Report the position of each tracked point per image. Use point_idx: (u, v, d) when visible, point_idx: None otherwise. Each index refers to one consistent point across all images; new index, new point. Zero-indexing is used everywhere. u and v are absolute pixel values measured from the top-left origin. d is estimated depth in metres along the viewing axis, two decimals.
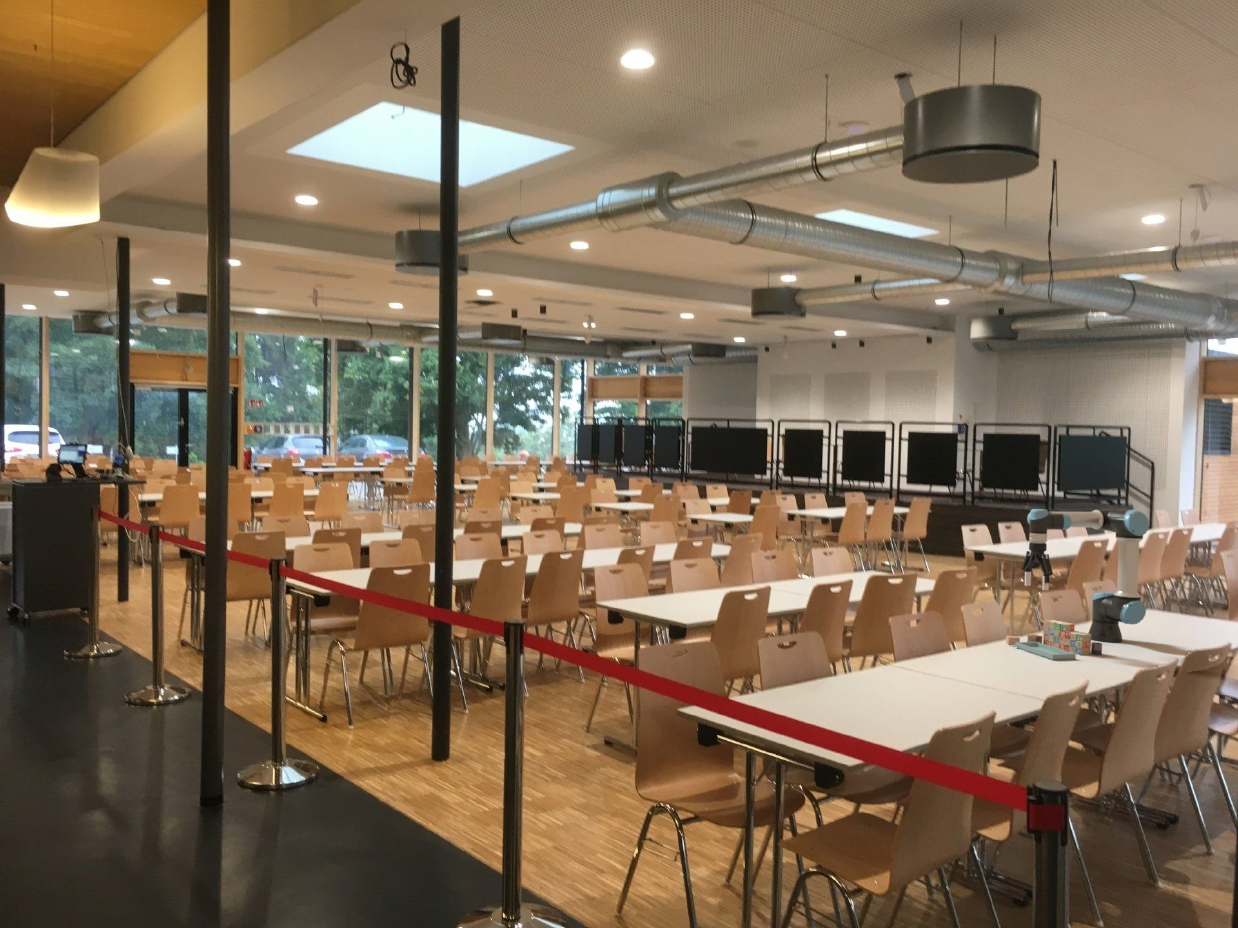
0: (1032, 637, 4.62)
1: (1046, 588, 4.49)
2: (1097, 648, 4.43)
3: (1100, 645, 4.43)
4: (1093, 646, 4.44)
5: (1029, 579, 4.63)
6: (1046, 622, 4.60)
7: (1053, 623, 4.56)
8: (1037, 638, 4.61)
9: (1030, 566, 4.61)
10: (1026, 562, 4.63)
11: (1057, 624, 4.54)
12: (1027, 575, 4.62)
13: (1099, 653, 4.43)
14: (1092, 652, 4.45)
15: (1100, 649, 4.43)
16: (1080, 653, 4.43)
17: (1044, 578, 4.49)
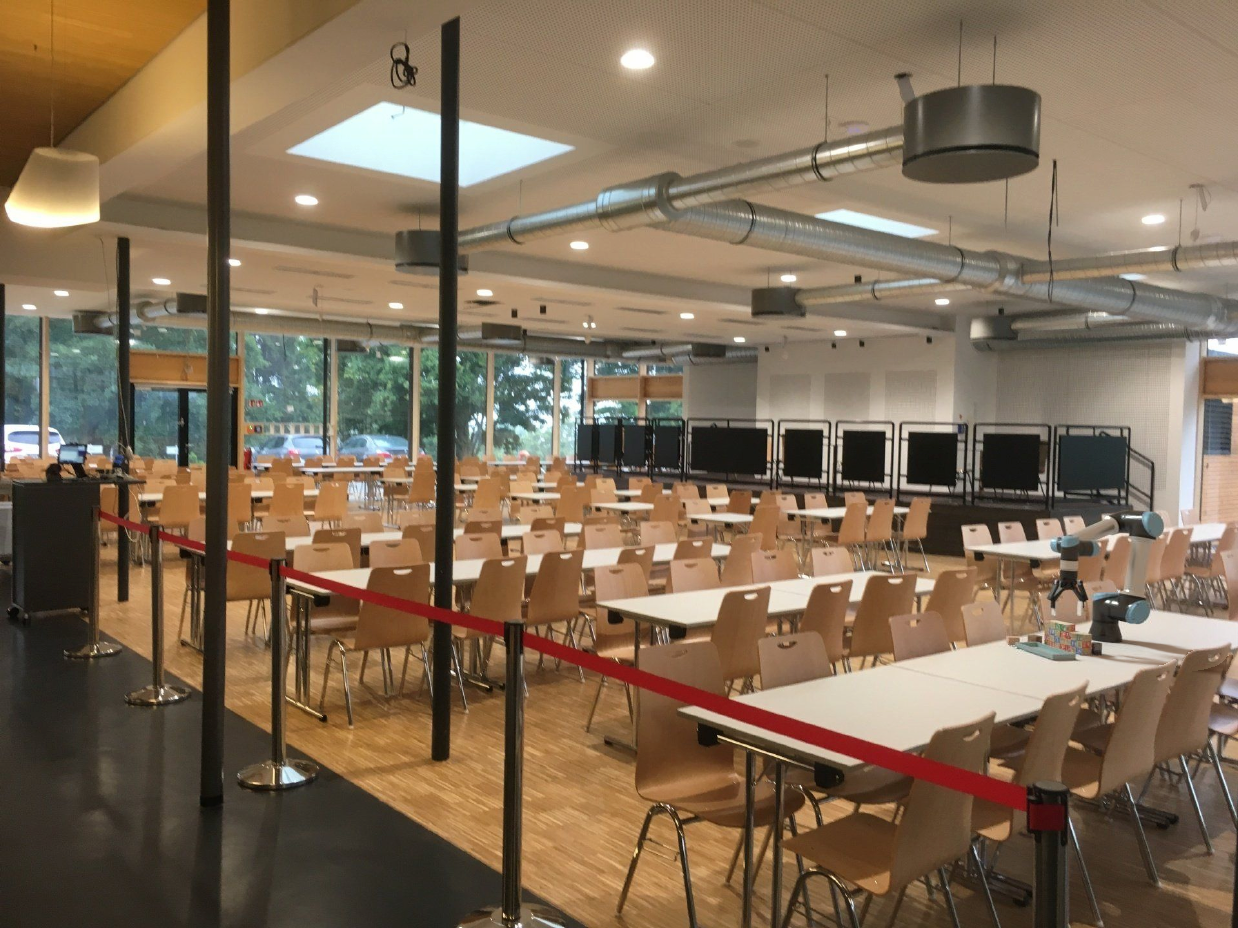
0: (1032, 637, 4.62)
1: (1053, 613, 4.51)
2: (1096, 648, 4.43)
3: (1100, 645, 4.43)
4: (1093, 646, 4.44)
5: (1080, 609, 4.54)
6: (1047, 622, 4.60)
7: (1054, 623, 4.56)
8: (1037, 638, 4.61)
9: (1077, 595, 4.54)
10: (1080, 591, 4.55)
11: (1058, 624, 4.54)
12: (1078, 604, 4.55)
13: (1099, 653, 4.43)
14: (1092, 652, 4.45)
15: (1100, 649, 4.43)
16: (1080, 653, 4.42)
17: None
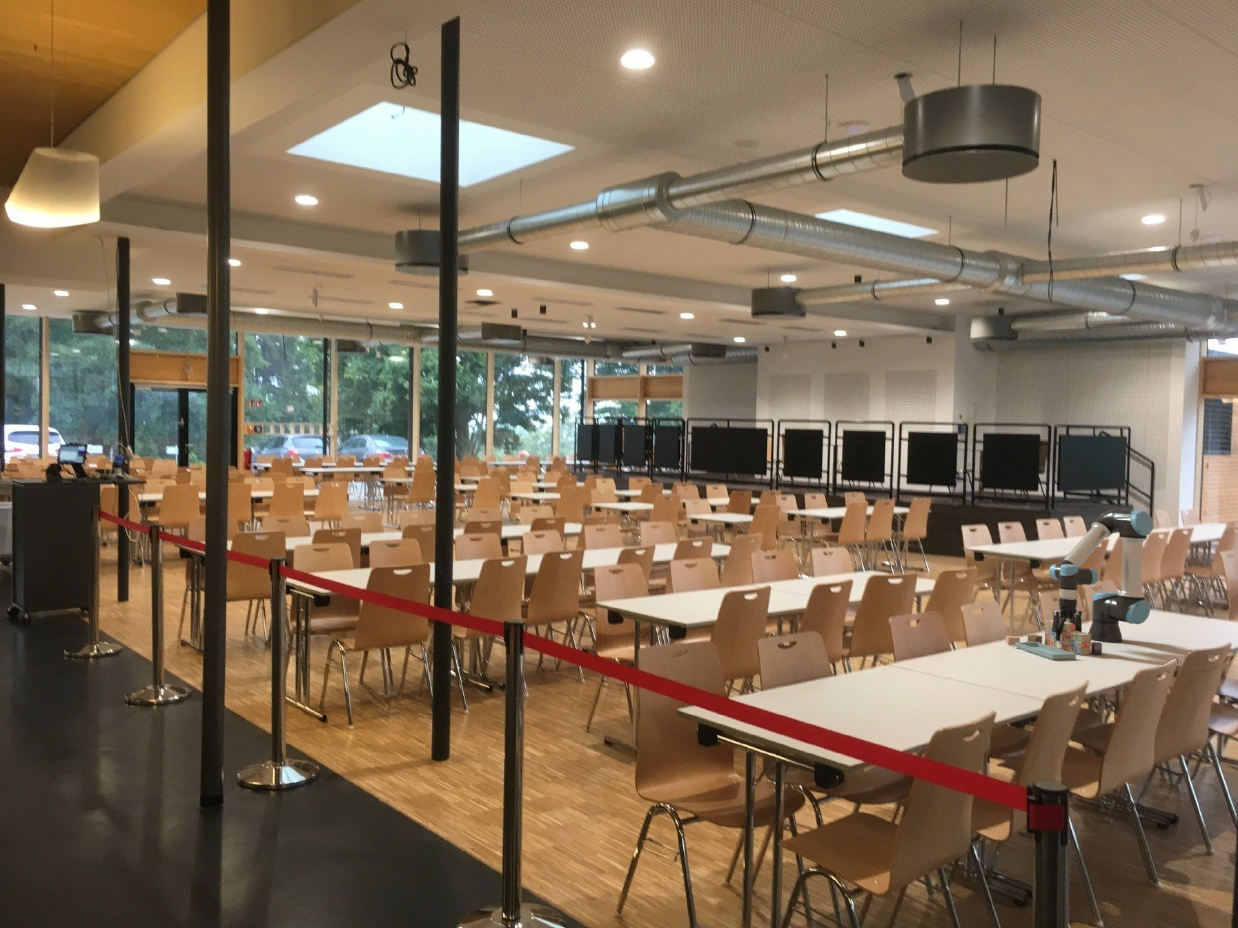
0: (1032, 637, 4.62)
1: (1058, 646, 4.52)
2: (1096, 648, 4.43)
3: (1100, 645, 4.43)
4: (1093, 646, 4.44)
5: None
6: (1047, 622, 4.60)
7: None
8: (1037, 638, 4.61)
9: None
10: (1076, 622, 4.55)
11: None
12: None
13: (1099, 653, 4.43)
14: (1092, 652, 4.45)
15: (1100, 649, 4.43)
16: (1079, 653, 4.42)
17: None
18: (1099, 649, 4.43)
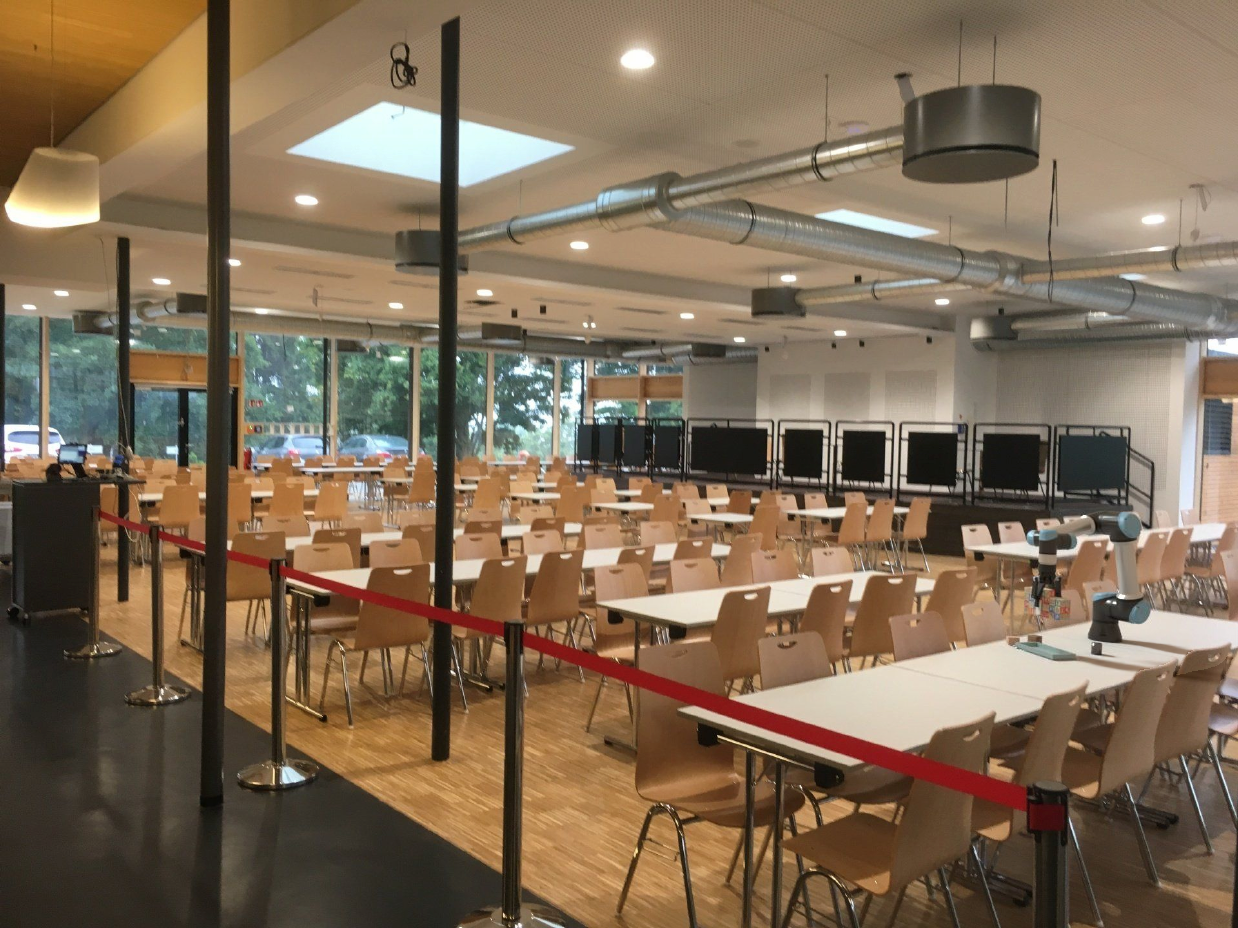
0: (1032, 637, 4.62)
1: (1038, 612, 4.42)
2: (1096, 648, 4.43)
3: (1100, 645, 4.43)
4: (1093, 646, 4.44)
5: None
6: (1027, 588, 4.50)
7: None
8: (1037, 638, 4.61)
9: None
10: (1056, 588, 4.45)
11: None
12: None
13: (1099, 653, 4.43)
14: (1092, 652, 4.45)
15: (1100, 649, 4.43)
16: (1058, 619, 4.32)
17: None
18: (1099, 649, 4.43)
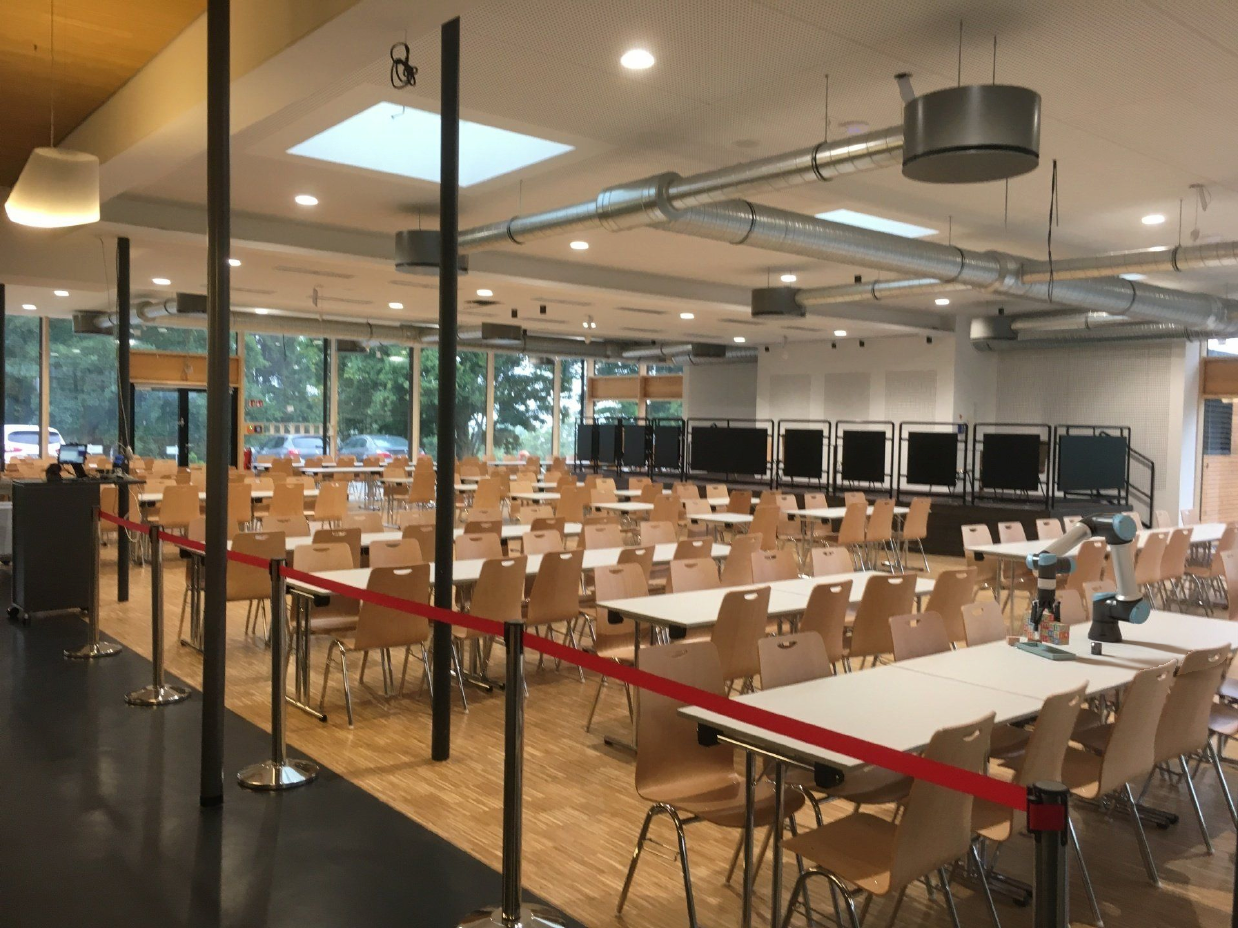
0: None
1: (1037, 637, 4.42)
2: (1096, 648, 4.43)
3: (1099, 645, 4.43)
4: (1092, 646, 4.44)
5: None
6: (1026, 612, 4.50)
7: None
8: None
9: None
10: (1055, 612, 4.45)
11: None
12: None
13: (1098, 653, 4.43)
14: (1092, 652, 4.45)
15: (1099, 649, 4.43)
16: (1057, 644, 4.33)
17: None
18: (1098, 649, 4.43)
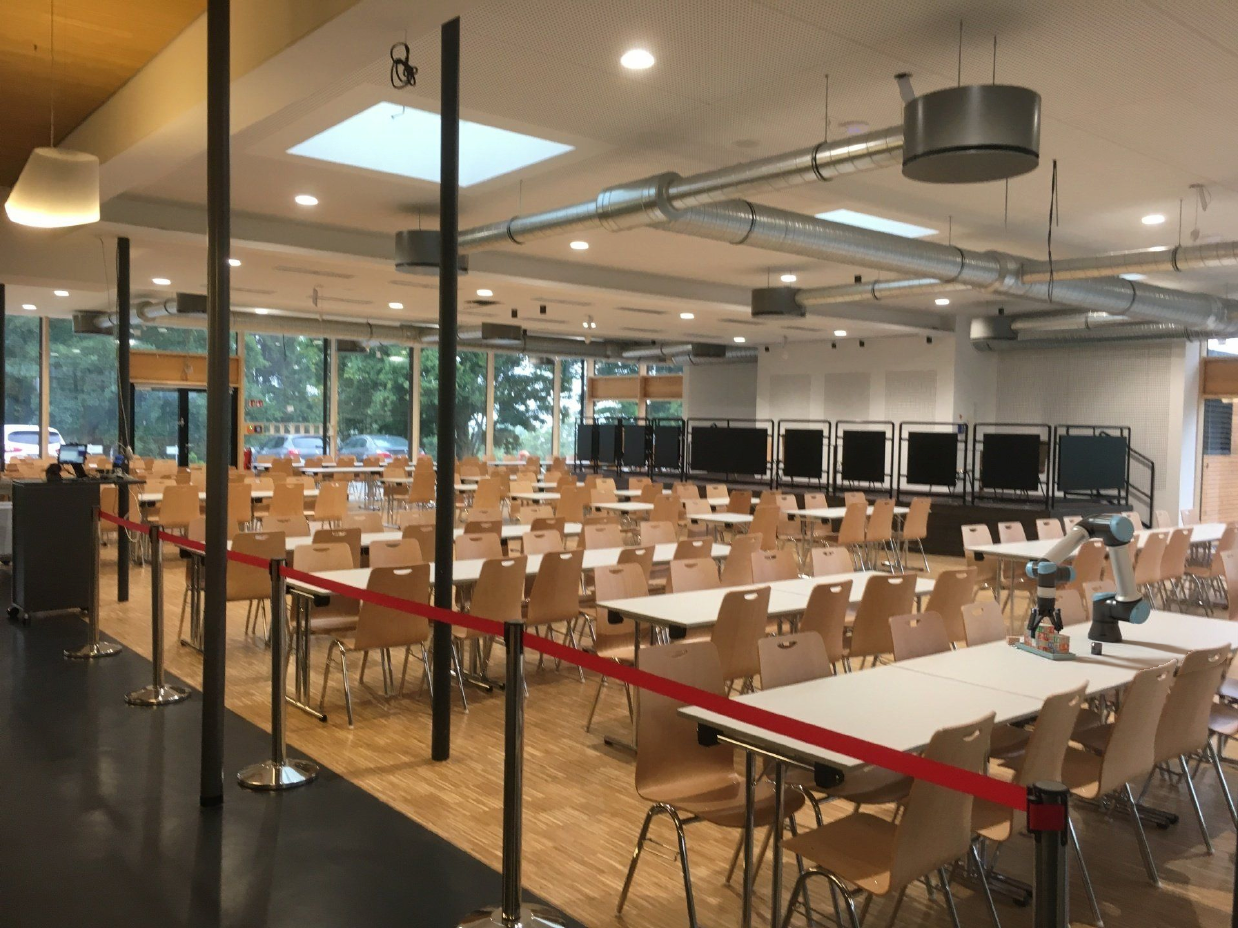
0: None
1: (1034, 644, 4.42)
2: (1096, 648, 4.43)
3: (1099, 645, 4.43)
4: (1092, 646, 4.45)
5: None
6: (1026, 623, 4.50)
7: None
8: None
9: (1053, 623, 4.44)
10: (1057, 620, 4.45)
11: None
12: None
13: (1098, 653, 4.43)
14: (1091, 652, 4.45)
15: (1099, 649, 4.43)
16: None
17: None
18: (1098, 649, 4.43)
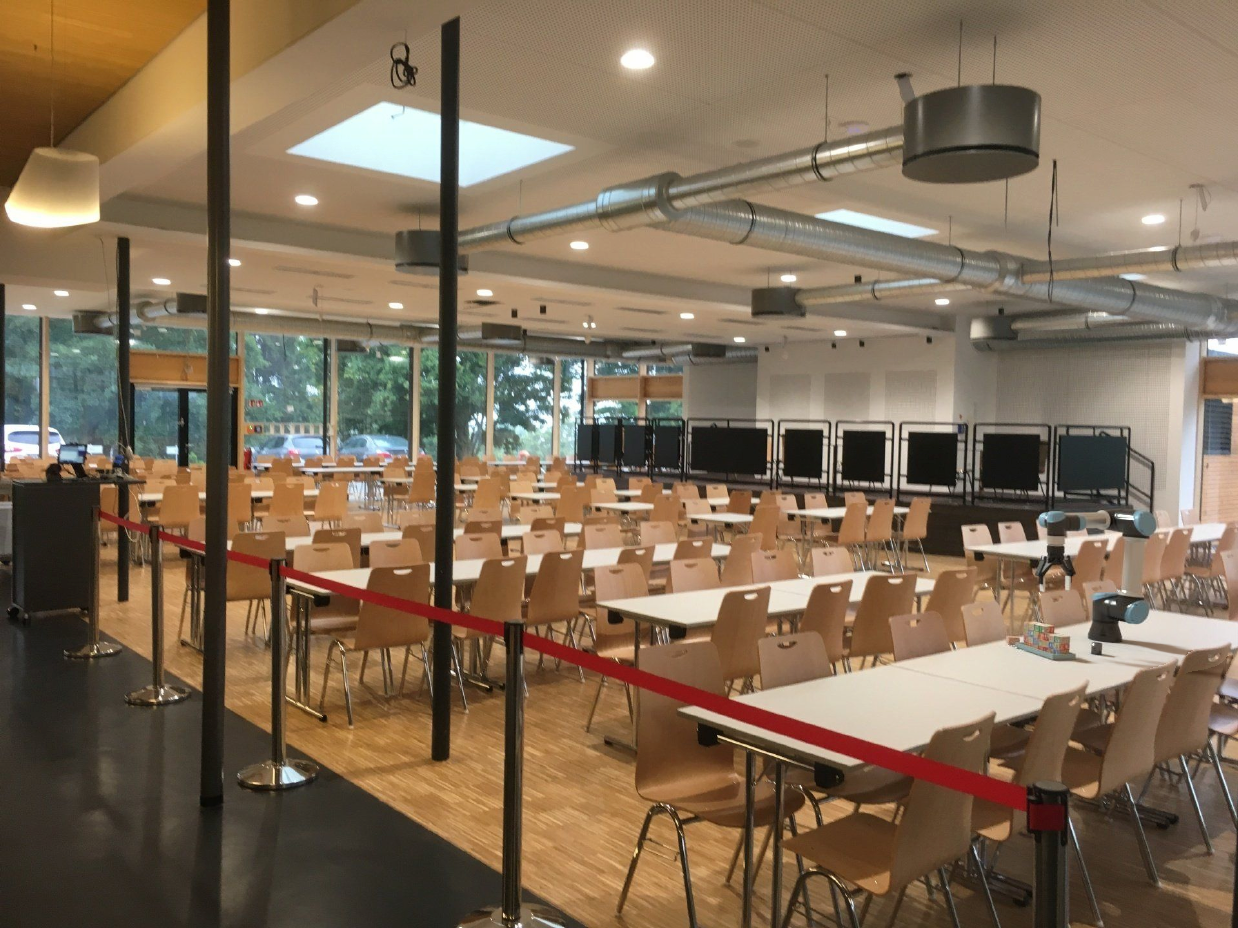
0: None
1: (1042, 589, 4.50)
2: (1095, 648, 4.43)
3: (1099, 645, 4.43)
4: (1092, 646, 4.45)
5: (1068, 584, 4.53)
6: (1026, 623, 4.50)
7: (1033, 625, 4.46)
8: None
9: (1065, 570, 4.53)
10: (1068, 566, 4.54)
11: (1036, 626, 4.44)
12: (1066, 579, 4.54)
13: (1098, 653, 4.43)
14: (1091, 652, 4.45)
15: (1099, 649, 4.43)
16: None
17: None
18: (1098, 649, 4.43)
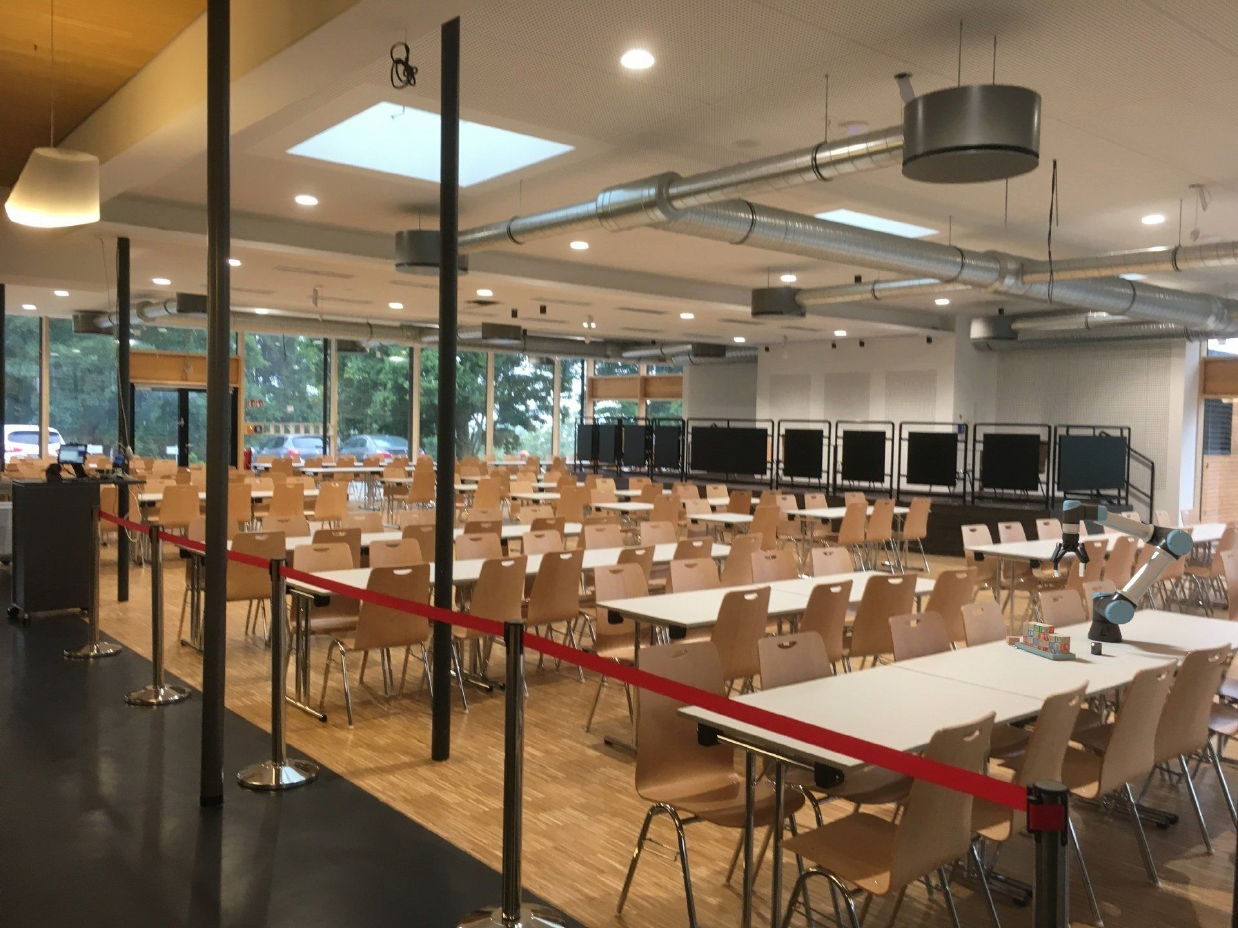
0: None
1: (1056, 575, 4.68)
2: (1095, 648, 4.44)
3: (1098, 645, 4.43)
4: (1092, 646, 4.45)
5: (1082, 570, 4.71)
6: (1026, 624, 4.50)
7: (1032, 625, 4.46)
8: None
9: (1079, 557, 4.71)
10: (1082, 553, 4.72)
11: (1036, 626, 4.44)
12: (1080, 566, 4.72)
13: (1097, 653, 4.43)
14: (1091, 652, 4.45)
15: (1099, 649, 4.43)
16: None
17: None
18: (1098, 649, 4.43)
